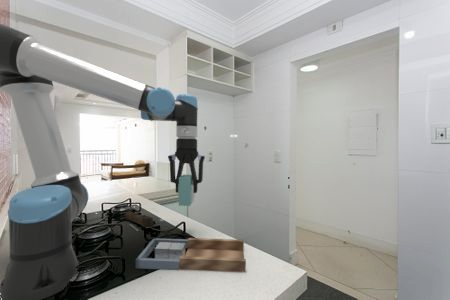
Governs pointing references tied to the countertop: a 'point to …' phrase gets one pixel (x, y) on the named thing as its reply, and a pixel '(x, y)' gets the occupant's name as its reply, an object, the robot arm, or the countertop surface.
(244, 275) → the countertop surface
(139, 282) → the countertop surface
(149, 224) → the hand tool
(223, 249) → the channel
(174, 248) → the light grey cube
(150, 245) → the tray
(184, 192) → the upright teal block
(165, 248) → the grey cube
